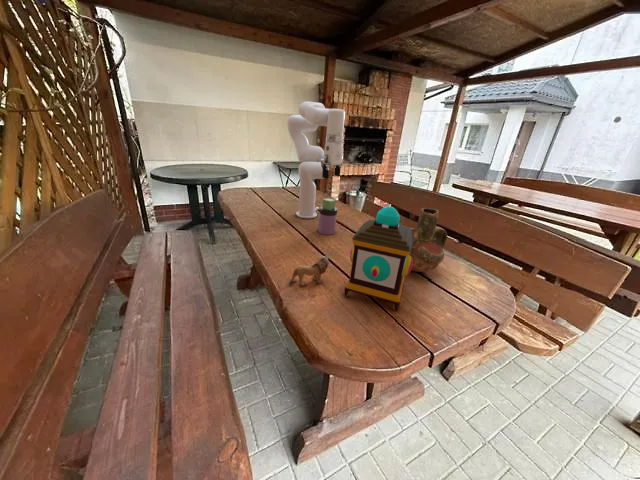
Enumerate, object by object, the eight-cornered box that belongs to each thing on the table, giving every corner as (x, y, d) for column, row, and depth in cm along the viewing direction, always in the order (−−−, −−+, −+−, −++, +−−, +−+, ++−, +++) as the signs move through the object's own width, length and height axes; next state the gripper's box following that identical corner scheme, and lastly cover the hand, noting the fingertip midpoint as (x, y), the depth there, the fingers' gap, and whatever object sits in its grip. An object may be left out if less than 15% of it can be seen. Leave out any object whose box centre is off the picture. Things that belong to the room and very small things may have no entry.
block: (327, 206, 135) (328, 198, 133) (334, 208, 133) (335, 199, 131) (322, 208, 132) (323, 199, 130) (329, 210, 129) (330, 201, 128)
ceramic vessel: (375, 264, 107) (385, 205, 97) (420, 254, 119) (433, 201, 109) (405, 286, 93) (420, 221, 83) (453, 273, 105) (471, 213, 95)
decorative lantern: (338, 297, 85) (348, 208, 73) (354, 270, 102) (364, 194, 90) (401, 316, 78) (424, 222, 66) (407, 283, 95) (426, 204, 83)
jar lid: (326, 209, 139) (326, 204, 138) (340, 213, 134) (340, 208, 133) (315, 212, 132) (316, 207, 132) (330, 216, 128) (330, 212, 127)
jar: (324, 226, 143) (326, 205, 138) (338, 231, 138) (340, 209, 134) (314, 231, 137) (316, 209, 132) (328, 236, 132) (330, 213, 127)
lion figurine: (323, 274, 98) (325, 252, 94) (330, 281, 93) (332, 259, 90) (286, 281, 91) (286, 259, 88) (291, 290, 87) (292, 266, 83)
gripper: (330, 139, 111) (326, 180, 118) (351, 139, 124) (347, 176, 131) (316, 138, 115) (313, 177, 122) (338, 138, 128) (334, 174, 135)
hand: (331, 177), depth 126 cm, fingers open, 9 cm apart
